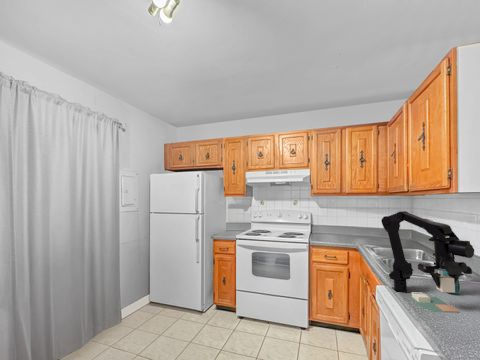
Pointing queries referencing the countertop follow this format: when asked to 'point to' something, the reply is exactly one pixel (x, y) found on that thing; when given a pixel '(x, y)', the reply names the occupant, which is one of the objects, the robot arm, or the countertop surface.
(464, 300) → the countertop surface
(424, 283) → the countertop surface
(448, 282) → the stub
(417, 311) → the countertop surface
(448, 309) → the coaster
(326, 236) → the countertop surface
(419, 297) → the spiral notebook
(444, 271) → the beverage bottle
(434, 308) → the mat
